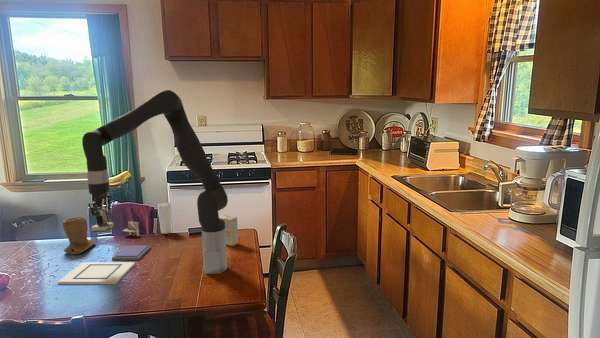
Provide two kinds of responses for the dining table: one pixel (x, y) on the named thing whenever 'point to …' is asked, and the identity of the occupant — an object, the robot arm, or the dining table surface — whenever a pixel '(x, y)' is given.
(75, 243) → the brown bookend
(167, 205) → the tall white block
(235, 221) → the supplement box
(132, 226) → the architectural model
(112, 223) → the stamp
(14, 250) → the dining table surface
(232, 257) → the dining table surface
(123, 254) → the pad
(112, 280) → the marking board
